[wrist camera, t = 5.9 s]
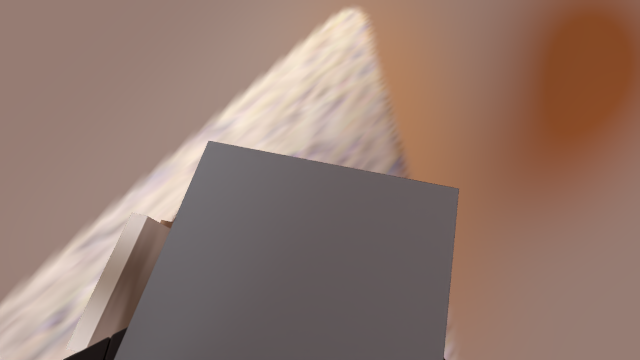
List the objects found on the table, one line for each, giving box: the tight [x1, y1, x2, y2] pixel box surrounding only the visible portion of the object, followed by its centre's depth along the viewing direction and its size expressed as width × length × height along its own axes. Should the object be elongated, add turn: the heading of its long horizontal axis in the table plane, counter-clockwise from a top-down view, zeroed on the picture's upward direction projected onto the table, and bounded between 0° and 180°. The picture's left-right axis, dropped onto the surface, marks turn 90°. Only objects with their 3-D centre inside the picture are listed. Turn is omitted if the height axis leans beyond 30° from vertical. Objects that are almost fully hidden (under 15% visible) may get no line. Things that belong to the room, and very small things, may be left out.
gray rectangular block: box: [114, 141, 459, 360], centre depth 8 cm, size 6×3×12 cm, turn 166°
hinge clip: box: [66, 213, 173, 352], centre depth 18 cm, size 8×7×4 cm
